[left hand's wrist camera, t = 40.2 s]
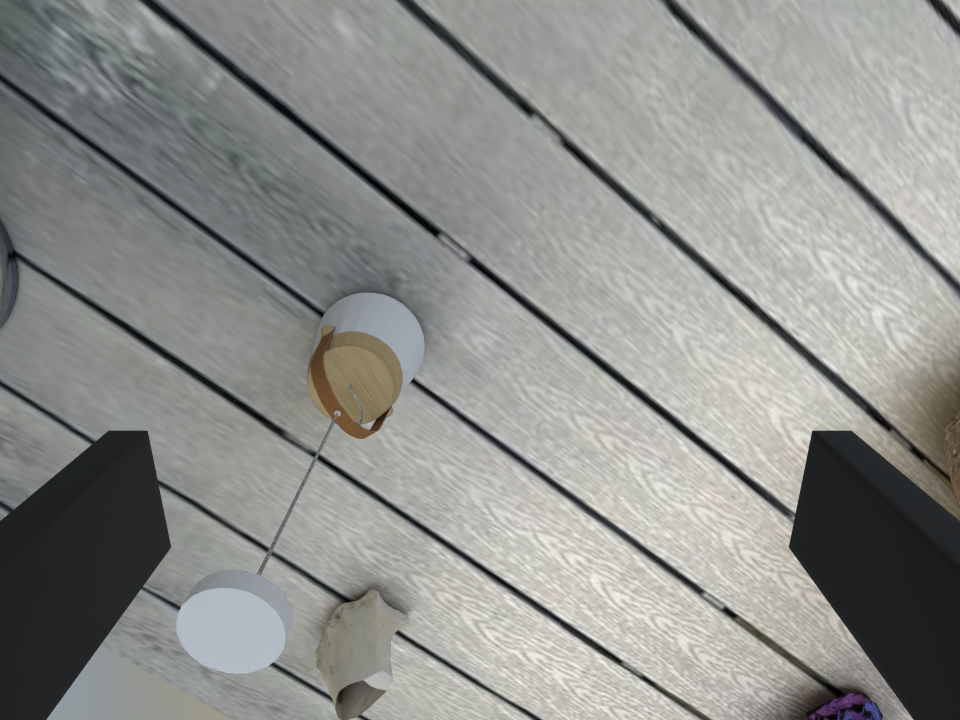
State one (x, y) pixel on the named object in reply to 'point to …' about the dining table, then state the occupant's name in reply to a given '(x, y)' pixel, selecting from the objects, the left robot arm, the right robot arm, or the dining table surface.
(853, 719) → the decorative ornament
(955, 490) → the pot
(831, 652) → the dining table surface
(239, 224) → the dining table surface
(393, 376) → the pendant light
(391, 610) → the bone
